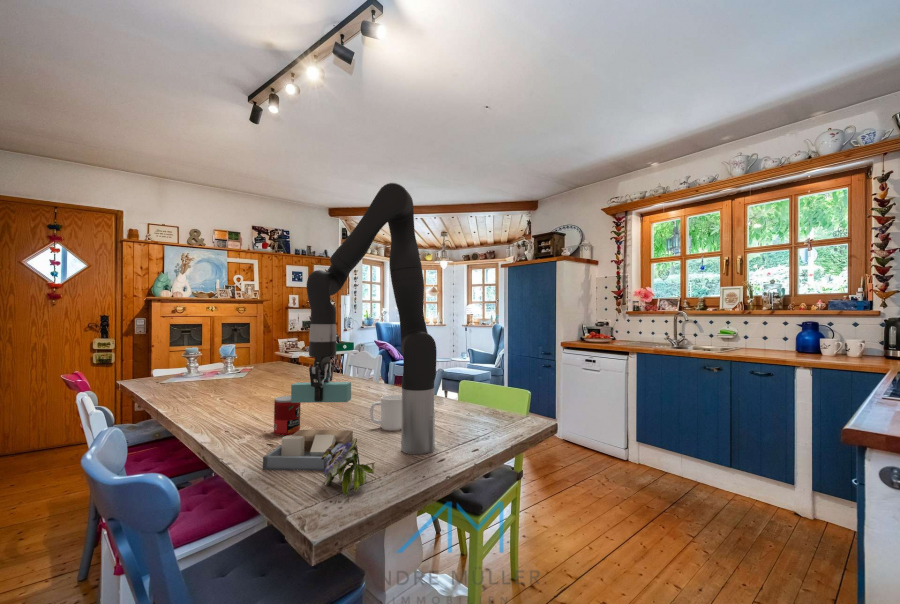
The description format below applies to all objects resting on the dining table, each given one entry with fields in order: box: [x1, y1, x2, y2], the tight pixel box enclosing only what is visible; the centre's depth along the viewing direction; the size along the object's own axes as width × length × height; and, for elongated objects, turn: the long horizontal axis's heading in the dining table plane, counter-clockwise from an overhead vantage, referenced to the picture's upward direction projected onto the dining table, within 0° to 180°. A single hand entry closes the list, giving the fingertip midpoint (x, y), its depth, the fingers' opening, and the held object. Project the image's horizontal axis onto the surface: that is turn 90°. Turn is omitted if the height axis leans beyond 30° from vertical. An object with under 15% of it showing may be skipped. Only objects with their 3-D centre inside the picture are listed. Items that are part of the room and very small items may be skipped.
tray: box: [262, 443, 342, 472], centre depth 98 cm, size 16×11×3 cm
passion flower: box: [321, 438, 376, 497], centre depth 85 cm, size 11×11×12 cm
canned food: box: [273, 395, 302, 437], centre depth 123 cm, size 8×8×11 cm
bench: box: [290, 429, 354, 452], centre depth 109 cm, size 16×10×4 cm, turn 88°
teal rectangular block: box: [290, 381, 352, 404], centre depth 110 cm, size 16×4×5 cm, turn 88°
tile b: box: [281, 435, 305, 456], centre depth 101 cm, size 5×5×2 cm
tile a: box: [310, 435, 336, 457], centre depth 101 cm, size 5×5×2 cm
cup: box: [369, 394, 402, 431], centre depth 129 cm, size 8×12×10 cm
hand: (321, 399), depth 110 cm, fingers closed on teal rectangular block, 4 cm apart
